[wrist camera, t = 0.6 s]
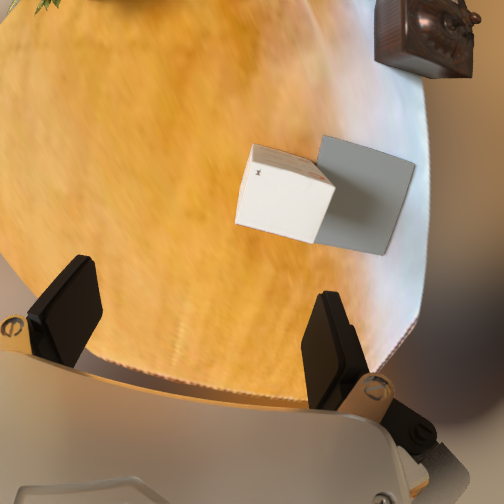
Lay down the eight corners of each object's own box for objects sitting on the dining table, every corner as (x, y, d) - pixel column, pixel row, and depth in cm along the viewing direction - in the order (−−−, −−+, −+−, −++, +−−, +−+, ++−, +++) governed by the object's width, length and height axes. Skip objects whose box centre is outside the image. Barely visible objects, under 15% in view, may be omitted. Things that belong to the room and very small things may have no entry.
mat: (323, 134, 35) (324, 135, 35) (412, 162, 36) (414, 163, 36) (297, 237, 42) (297, 239, 42) (381, 253, 43) (383, 255, 43)
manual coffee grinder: (438, 82, 30) (527, 87, 14) (372, 61, 30) (449, 41, 14) (437, -3, 23) (512, -29, 7) (372, -28, 23) (432, -80, 7)
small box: (239, 187, 39) (232, 224, 27) (252, 142, 36) (250, 159, 25) (297, 203, 40) (314, 246, 28) (312, 160, 37) (337, 185, 25)
